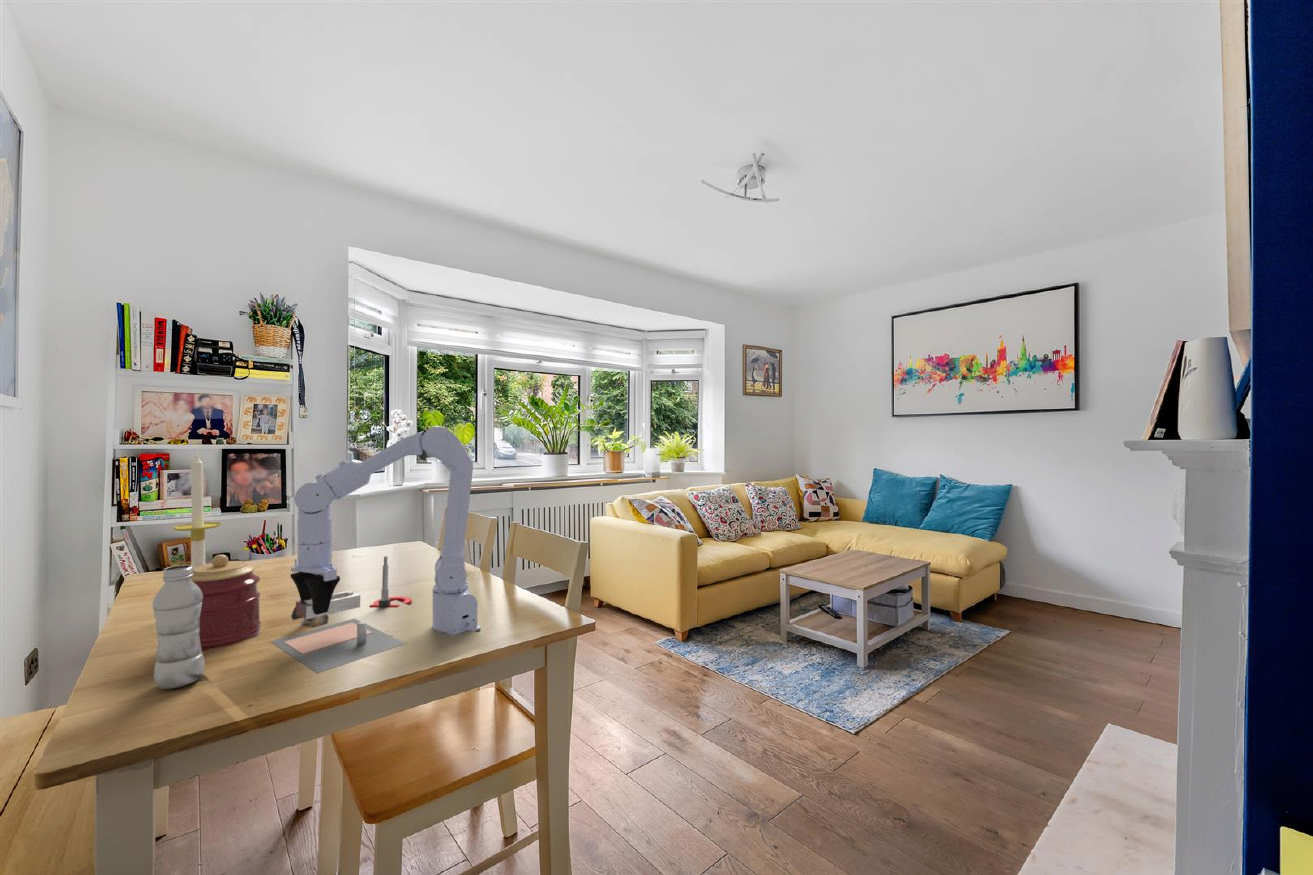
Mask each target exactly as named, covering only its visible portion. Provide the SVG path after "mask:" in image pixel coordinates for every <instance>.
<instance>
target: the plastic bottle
mask: <svg viewBox="0 0 1313 875" xmlns="http://www.w3.org/2000/svg"><path fill="white" fill-rule="evenodd" d="M191 577H193V573H192V565H191V564H181V565H180V564H179V565H174V566H168V567H166V568H164V569H163V576H162V581H163V582H164V584H163V585H162V586H161V588H160V589H159V590H158V591H157V593H156V594H155V595H154V597H153V600H152V603H151V605H152V610H153V616H154V619H155V624H156V633H157V649H156V650H157V652H156V661H155V664H154V669H153V670H154V671H153V676H152V677H153V680H154V684H155V686H158V688H159V689H161V690H162V689H163V690H168V689H169V690H170V689H171V690H172V689H175V688H176V689H177V688H181V687H184V686H187V685H190V684H192V683H193V684H194V682H196V681H198V680H199V679H200V678H201V677H202V675H203V673H204V672H205V666H206V661H205V656H204V653H203V651H201V643H200V635H199V629H200V628H199V626H200V614H201V607H202V601H203V593H202V591H201V589H200V588H199V587H198V586H197V585H196V584H195V583H194V582H193V581H192V580H191Z"/></svg>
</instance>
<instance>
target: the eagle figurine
mask: <svg viewBox="0 0 1313 875" xmlns="http://www.w3.org/2000/svg"><path fill="white" fill-rule="evenodd" d="M290 616H291V619H292V621H295V620H296V621H297V620H299V619H303V620H302V621H301V622H300V626H304V625H306V624H307V626H306V628H319V627H321V626H322V627H323V626H324V625H326V624H328V621H329V614H328V615H324V616H319V617H315V618H311V619H304V618H302V617H301V616H299V615H297V614H296V605H295V607H294V608H293V610H292V612H291V615H290Z"/></svg>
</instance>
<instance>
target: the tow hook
mask: <svg viewBox="0 0 1313 875" xmlns="http://www.w3.org/2000/svg"><path fill="white" fill-rule="evenodd" d="M388 560H389V559H388V556H387V555H385V556H383V565H382V580H381V581H382V584H381V586H382V588H381V591H380V592H381V594H380V595H381V597H380V598H379V599H377V600H375V601H374V602H373V603H372V604H369V608H379V609H380V608H386V609H387V608H399V607H400V604H391V602H393V601H397V602H401V603H402V604H405V605H408V606H409V605H411V604H412V602H413V601H412V600H413V599H412V598H411V597H408V596H391V597H389V587H388V586H389V565H388Z"/></svg>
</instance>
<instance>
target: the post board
mask: <svg viewBox="0 0 1313 875" xmlns="http://www.w3.org/2000/svg"><path fill="white" fill-rule="evenodd" d="M270 643H272V644H273V645H274V646H276V647H277V648H278V649H280V650H282V651H283V652H284V653H286V654H288V655H289V656H291V657H292V658H294V659H295V660H296V661H298V662H299V663H301V664H302V665H304V666H305V667H307V668H308V669H310V670H311V671H313V672H315V673H316V674H320V673H323V672H326V671H329V670H331V669H335V668H337V667H340V666H343V665H347V664H350V663H353V662H355V661H360V660H361V659H365V658H367V657H371V656H374V655H376V654H380V653H383V652H385V651H388V650H391V649H394V648H398V647H400V646H403V645H406V644H407V643H406V642H404V641H402V640H400V639H398V638H396V637H393V636H392V635H389V634H387V633H386V632H383V631H381V630H379V629H377V628H375V627H373V626H371V625H369V624H367V621H360V620H359V619H356V618H352V619H348V620H344V621H340V622H336V623H333V624H328V625H325V626H322V627H321V626H320V627H317V628H314V629H310V630H307V631H303V632H300V633H296V634H293V635H290V636H289V635H288V636H285V637H282V638H278V639H275V640H271V641H270Z"/></svg>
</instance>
